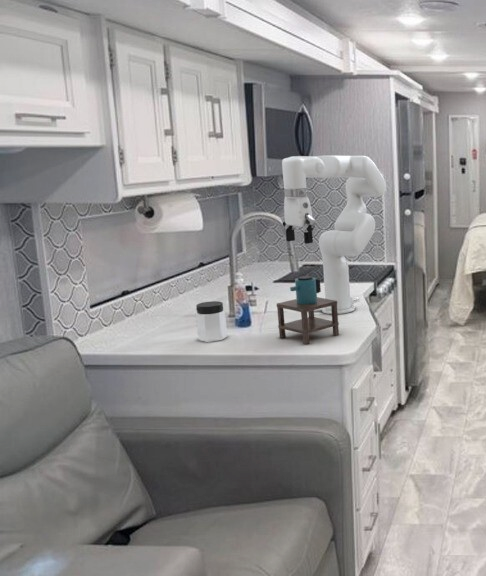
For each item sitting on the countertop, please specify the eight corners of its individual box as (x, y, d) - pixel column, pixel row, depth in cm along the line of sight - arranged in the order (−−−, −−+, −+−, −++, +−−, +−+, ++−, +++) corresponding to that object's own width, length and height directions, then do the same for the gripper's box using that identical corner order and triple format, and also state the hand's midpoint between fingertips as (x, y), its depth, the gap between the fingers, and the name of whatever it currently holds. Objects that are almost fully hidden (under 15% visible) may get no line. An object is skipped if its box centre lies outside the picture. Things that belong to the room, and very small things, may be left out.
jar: (207, 334, 229) (203, 300, 227) (230, 334, 229) (227, 300, 227) (194, 342, 221) (190, 307, 218) (219, 342, 221) (215, 307, 218)
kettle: (313, 297, 231) (312, 273, 229) (326, 300, 227) (324, 275, 225) (286, 304, 222) (284, 278, 220) (299, 306, 218) (297, 281, 216)
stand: (312, 328, 237) (310, 295, 234) (339, 334, 229) (337, 300, 226) (279, 337, 225) (276, 303, 223) (306, 344, 218) (303, 309, 215)
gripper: (320, 193, 231) (324, 242, 235) (288, 191, 241) (292, 238, 245) (303, 195, 225) (307, 245, 229) (271, 193, 235) (275, 241, 238)
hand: (299, 242), depth 237 cm, fingers open, 9 cm apart
